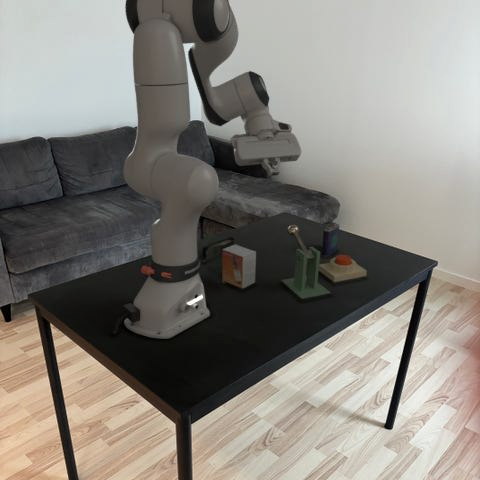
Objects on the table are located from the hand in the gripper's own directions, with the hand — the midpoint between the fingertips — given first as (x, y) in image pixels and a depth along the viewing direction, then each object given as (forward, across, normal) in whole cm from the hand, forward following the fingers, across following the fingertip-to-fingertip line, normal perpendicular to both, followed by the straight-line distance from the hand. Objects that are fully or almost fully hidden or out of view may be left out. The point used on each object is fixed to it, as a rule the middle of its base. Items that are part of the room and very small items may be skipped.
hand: (274, 174), depth 138 cm
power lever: (+23, 0, 0) cm, 23 cm away
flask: (+20, +21, +18) cm, 34 cm away
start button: (+29, +15, +4) cm, 33 cm away
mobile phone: (+12, -14, +26) cm, 32 cm away
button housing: (+32, +15, +6) cm, 36 cm away
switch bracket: (+35, 0, +4) cm, 35 cm away
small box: (+28, -16, +11) cm, 34 cm away
